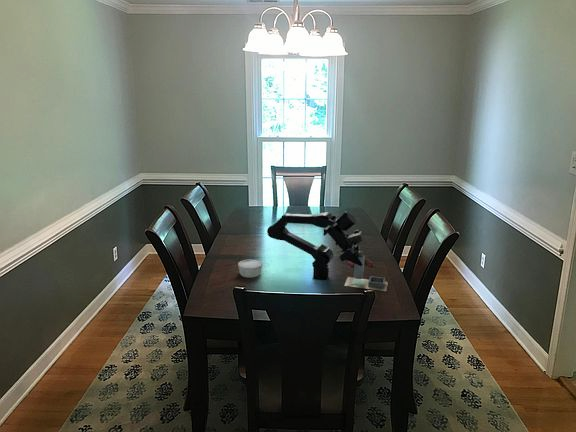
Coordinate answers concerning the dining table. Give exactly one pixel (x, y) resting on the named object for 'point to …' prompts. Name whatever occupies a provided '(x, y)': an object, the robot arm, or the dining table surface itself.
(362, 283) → the pad
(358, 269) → the capped bottle
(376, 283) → the gray square frame
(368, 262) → the pliers
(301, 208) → the dining table surface
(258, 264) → the ramekin
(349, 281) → the board
